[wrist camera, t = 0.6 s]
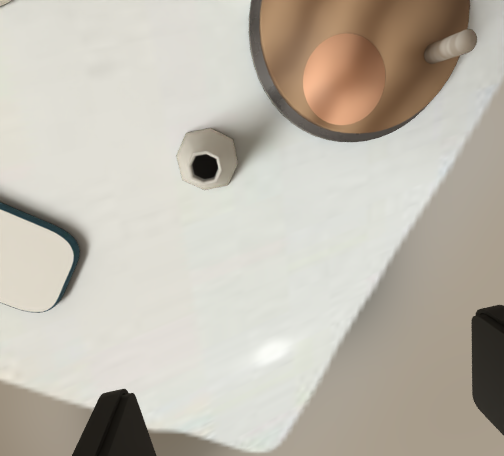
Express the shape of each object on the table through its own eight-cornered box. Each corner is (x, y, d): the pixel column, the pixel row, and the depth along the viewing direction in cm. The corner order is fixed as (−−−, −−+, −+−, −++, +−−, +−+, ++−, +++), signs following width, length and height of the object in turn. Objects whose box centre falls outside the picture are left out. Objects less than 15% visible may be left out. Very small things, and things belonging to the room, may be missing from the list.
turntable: (230, 90, 36) (233, 80, 30) (307, -143, 31) (332, -218, 25) (400, 160, 41) (437, 165, 34) (492, -37, 36) (556, -76, 29)
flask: (241, 132, 39) (249, 132, 29) (234, 193, 41) (239, 211, 31) (178, 123, 38) (166, 120, 28) (174, 186, 40) (161, 203, 30)
